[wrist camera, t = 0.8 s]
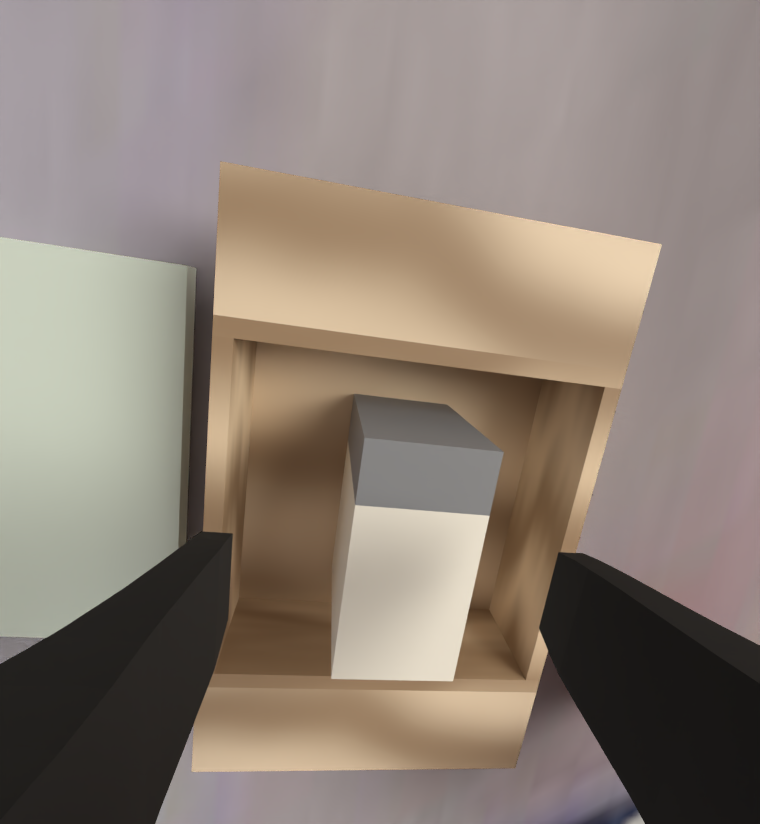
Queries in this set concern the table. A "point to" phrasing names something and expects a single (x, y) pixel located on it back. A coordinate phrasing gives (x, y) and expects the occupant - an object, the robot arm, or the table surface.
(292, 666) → the light wood shallow tray
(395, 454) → the block
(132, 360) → the board
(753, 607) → the table surface
